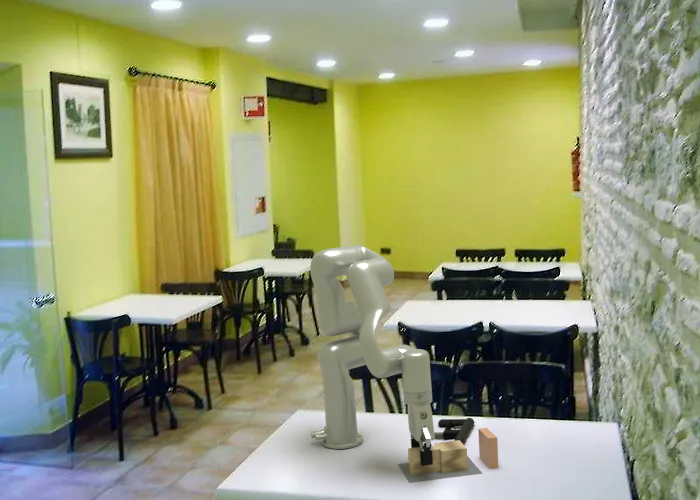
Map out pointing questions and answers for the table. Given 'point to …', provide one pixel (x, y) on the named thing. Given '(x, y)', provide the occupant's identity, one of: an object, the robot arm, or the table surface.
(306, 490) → the table surface
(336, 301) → the robot arm
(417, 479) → the rest mat
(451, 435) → the door handle
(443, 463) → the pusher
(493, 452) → the tan rectangular block
